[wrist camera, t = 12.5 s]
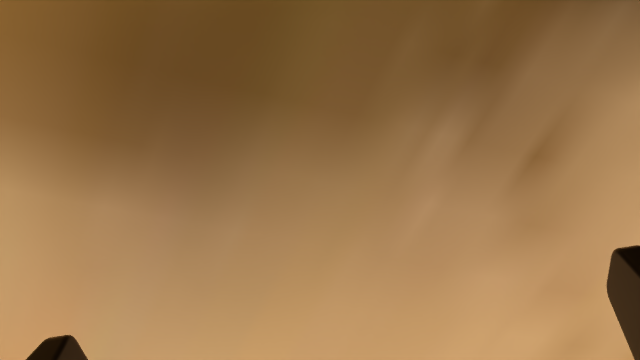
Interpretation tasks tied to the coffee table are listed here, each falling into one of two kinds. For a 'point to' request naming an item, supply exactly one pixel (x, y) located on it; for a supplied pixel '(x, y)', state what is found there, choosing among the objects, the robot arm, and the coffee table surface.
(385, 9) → the coffee table surface
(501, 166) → the coffee table surface
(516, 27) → the coffee table surface
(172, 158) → the coffee table surface
